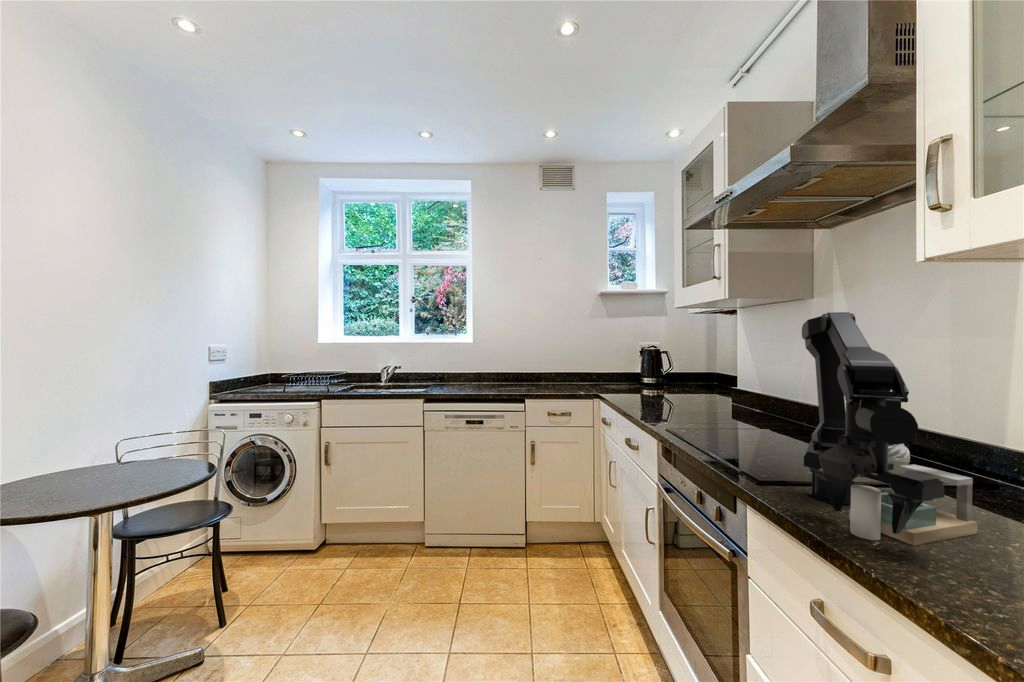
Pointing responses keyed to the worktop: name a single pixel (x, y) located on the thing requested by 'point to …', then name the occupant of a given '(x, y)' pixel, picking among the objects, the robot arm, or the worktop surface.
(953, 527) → the socket board
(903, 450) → the ice cream cone
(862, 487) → the peg
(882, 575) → the worktop surface
